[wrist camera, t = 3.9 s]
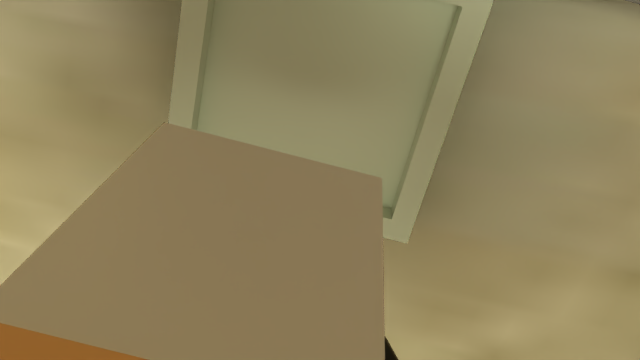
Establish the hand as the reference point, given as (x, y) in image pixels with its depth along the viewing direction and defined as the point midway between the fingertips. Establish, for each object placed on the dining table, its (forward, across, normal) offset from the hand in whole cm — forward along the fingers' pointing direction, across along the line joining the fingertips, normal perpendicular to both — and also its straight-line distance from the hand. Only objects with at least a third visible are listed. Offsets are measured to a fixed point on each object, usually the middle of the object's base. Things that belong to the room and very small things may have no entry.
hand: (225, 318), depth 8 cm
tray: (+13, 0, 0) cm, 13 cm away
